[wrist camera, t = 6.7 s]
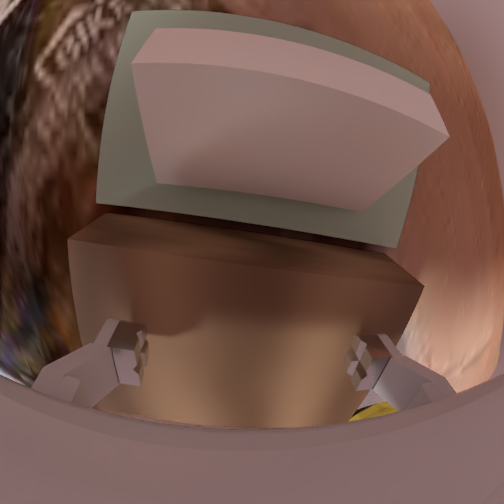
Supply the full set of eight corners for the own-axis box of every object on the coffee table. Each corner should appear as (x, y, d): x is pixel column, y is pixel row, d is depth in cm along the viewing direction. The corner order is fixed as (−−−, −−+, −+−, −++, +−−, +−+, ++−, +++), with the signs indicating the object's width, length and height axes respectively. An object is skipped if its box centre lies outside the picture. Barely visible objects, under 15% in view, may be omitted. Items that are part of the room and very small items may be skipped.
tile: (131, 63, 5) (155, 28, 6) (156, 183, 11) (167, 145, 11) (449, 137, 6) (430, 94, 7) (362, 212, 12) (357, 175, 12)
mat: (98, 201, 12) (95, 203, 12) (134, 13, 9) (132, 11, 8) (393, 246, 14) (396, 248, 14) (427, 83, 11) (430, 83, 11)
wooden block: (116, 361, 16) (99, 405, 12) (106, 212, 12) (67, 239, 9) (330, 380, 18) (347, 422, 14) (384, 253, 14) (424, 286, 11)
